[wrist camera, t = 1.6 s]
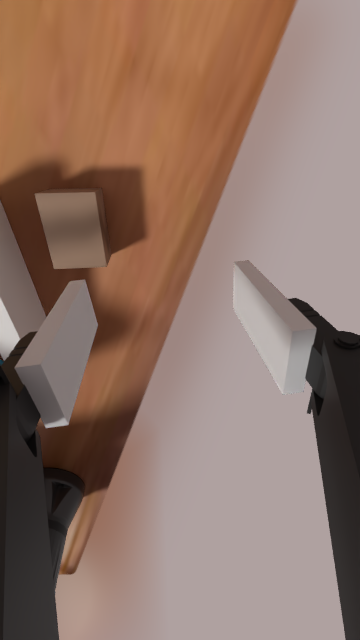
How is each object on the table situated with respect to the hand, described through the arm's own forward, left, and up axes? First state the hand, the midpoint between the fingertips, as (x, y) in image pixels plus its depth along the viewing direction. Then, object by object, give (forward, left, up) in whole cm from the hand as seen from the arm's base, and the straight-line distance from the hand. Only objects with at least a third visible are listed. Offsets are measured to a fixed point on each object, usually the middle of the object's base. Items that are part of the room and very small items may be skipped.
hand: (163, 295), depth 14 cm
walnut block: (0, +9, -23) cm, 25 cm away
